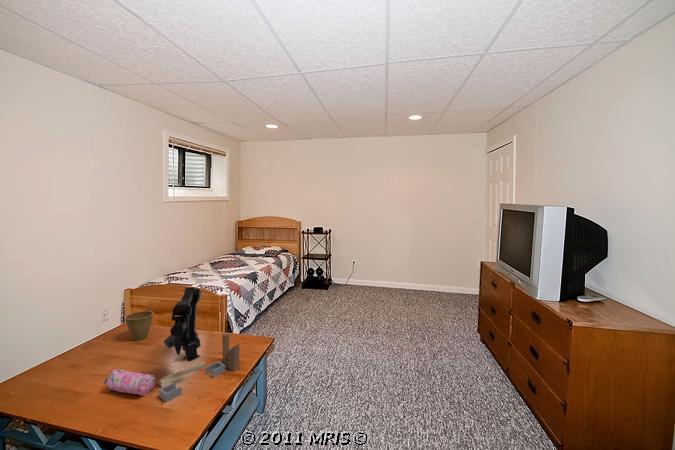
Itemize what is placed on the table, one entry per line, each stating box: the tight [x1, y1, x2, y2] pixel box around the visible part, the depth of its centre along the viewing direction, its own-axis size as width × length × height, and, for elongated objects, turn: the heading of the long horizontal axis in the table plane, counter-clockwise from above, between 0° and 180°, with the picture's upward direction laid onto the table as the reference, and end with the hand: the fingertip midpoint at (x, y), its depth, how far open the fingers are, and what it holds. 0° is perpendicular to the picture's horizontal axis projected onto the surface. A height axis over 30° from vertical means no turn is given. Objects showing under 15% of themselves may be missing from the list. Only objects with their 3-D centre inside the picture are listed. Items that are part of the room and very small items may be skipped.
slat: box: [158, 360, 206, 388], centre depth 148 cm, size 3×22×3 cm, turn 145°
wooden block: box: [220, 332, 240, 372], centre depth 156 cm, size 4×11×18 cm, turn 60°
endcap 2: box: [205, 360, 226, 378], centre depth 151 cm, size 6×7×4 cm
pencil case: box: [103, 368, 156, 396], centre depth 135 cm, size 21×9×9 cm, turn 76°
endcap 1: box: [158, 381, 183, 403], centre depth 132 cm, size 6×7×4 cm
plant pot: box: [125, 310, 154, 342], centre depth 188 cm, size 15×15×16 cm
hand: (183, 357), depth 147 cm, fingers open, 9 cm apart
